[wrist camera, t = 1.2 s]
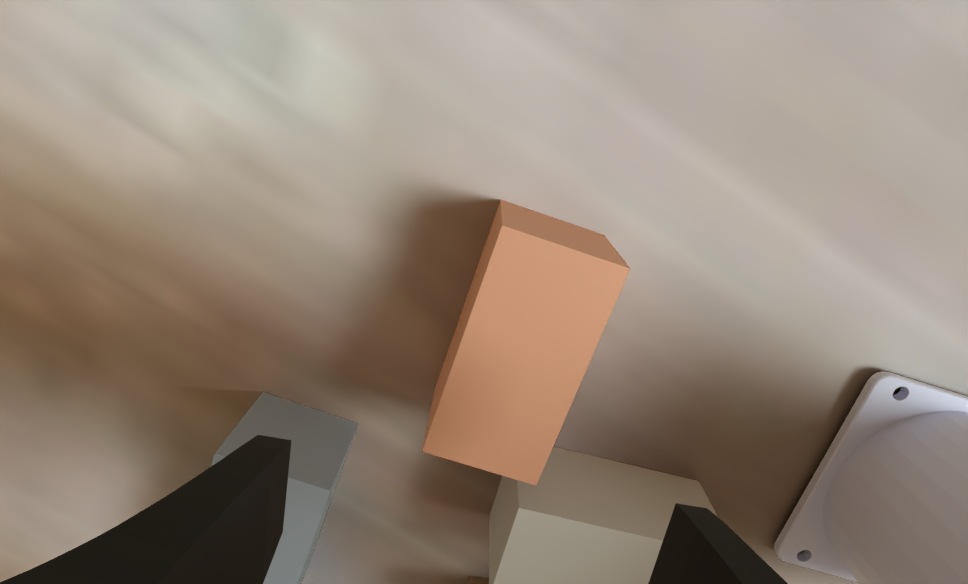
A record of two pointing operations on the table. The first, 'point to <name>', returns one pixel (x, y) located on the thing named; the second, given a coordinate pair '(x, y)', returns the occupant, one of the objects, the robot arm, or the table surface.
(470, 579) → the walnut brick
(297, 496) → the slate brick
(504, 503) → the grey brick
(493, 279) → the terracotta brick
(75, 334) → the table surface
